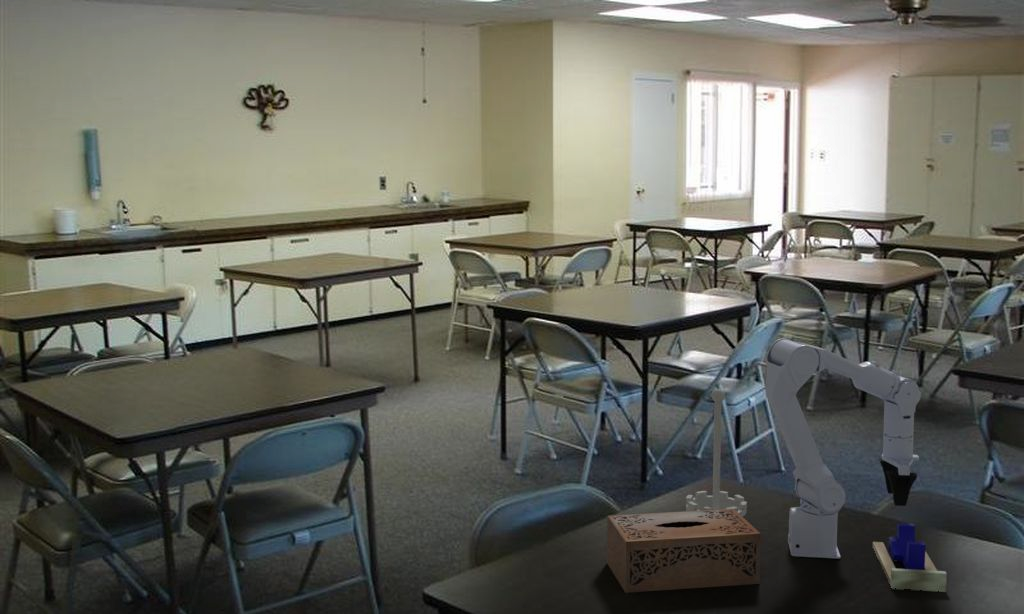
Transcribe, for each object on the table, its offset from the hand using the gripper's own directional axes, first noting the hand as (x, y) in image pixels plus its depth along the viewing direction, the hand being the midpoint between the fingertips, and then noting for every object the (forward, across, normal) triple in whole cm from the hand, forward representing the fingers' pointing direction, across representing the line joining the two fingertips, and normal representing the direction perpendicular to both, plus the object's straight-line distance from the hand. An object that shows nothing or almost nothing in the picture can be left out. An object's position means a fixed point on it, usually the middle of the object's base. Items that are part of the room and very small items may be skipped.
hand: (896, 499), depth 213 cm
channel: (+9, -13, 0) cm, 16 cm away
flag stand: (+9, +7, +36) cm, 38 cm away
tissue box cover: (+9, -23, +43) cm, 50 cm away
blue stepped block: (+10, -10, 0) cm, 14 cm away
